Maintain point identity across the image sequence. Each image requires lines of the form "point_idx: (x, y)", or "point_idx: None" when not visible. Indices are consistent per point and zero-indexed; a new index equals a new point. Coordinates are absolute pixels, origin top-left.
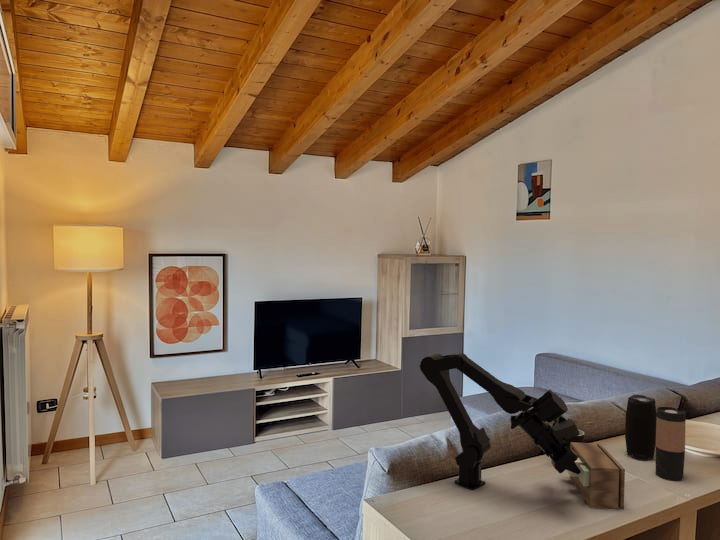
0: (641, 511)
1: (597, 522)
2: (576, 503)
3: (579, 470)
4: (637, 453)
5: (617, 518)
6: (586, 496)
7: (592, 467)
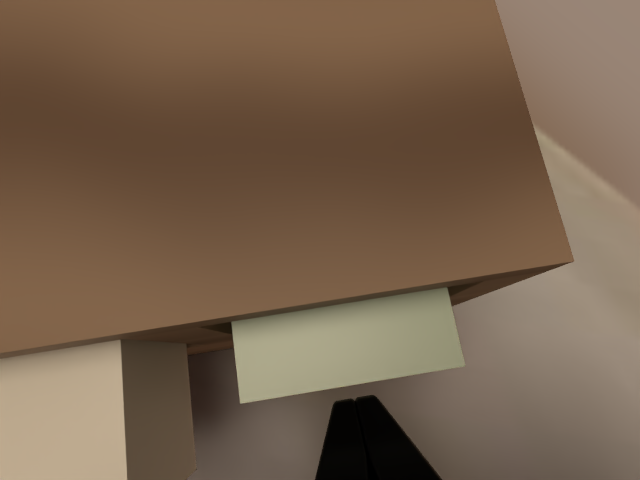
0: None
1: (625, 302)
2: None
3: (391, 418)
4: None
5: None
6: None
7: (561, 239)
